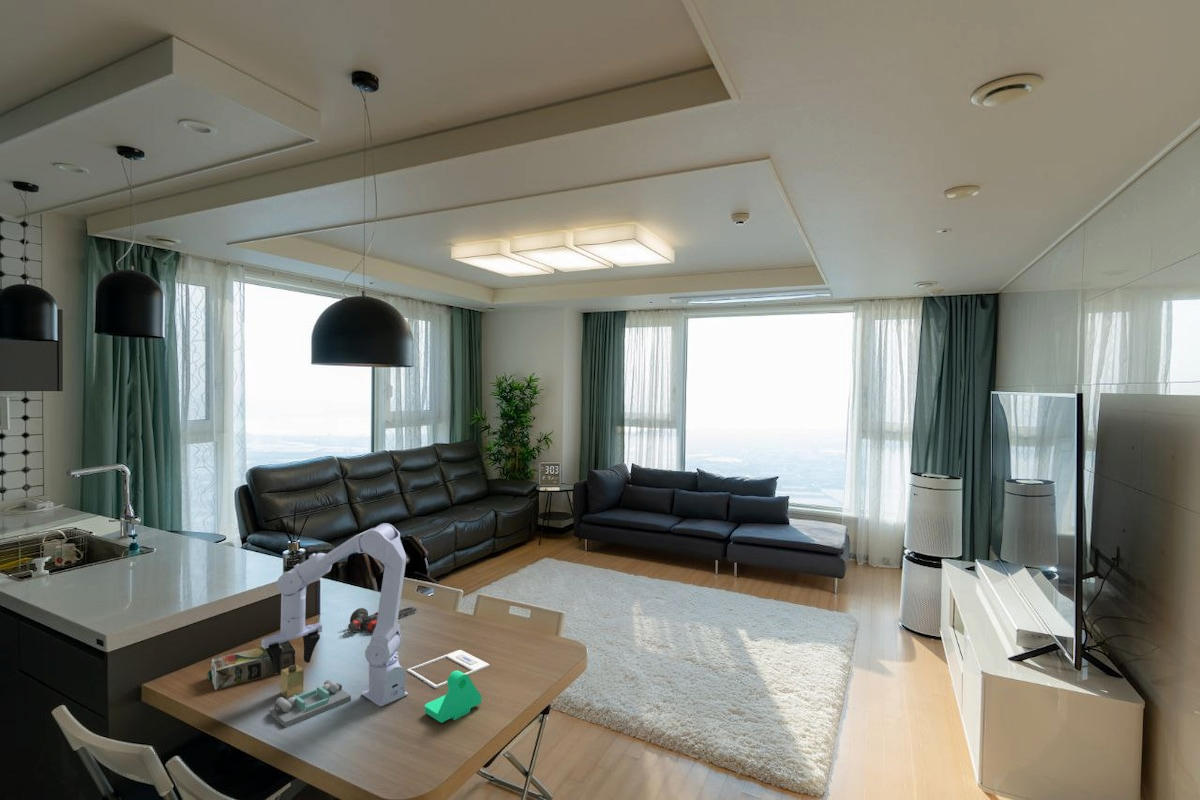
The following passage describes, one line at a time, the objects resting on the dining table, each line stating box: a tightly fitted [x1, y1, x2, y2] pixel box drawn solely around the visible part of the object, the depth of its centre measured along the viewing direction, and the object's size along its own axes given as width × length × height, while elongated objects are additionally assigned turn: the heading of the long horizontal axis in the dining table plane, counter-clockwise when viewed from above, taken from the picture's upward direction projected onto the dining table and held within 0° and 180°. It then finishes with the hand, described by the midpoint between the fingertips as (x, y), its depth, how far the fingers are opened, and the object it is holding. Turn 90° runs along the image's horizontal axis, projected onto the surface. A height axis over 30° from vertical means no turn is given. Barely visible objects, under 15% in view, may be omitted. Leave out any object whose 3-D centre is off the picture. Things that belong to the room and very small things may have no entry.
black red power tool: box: [347, 606, 418, 634], centre depth 196 cm, size 6×26×15 cm
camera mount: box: [424, 670, 483, 724], centre depth 142 cm, size 12×8×10 cm, turn 140°
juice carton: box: [206, 640, 296, 691], centre depth 160 cm, size 20×10×6 cm, turn 130°
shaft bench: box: [268, 679, 352, 728], centre depth 143 cm, size 9×16×4 cm, turn 141°
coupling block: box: [280, 664, 305, 698], centre depth 150 cm, size 4×4×7 cm
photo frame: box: [406, 649, 491, 689], centre depth 165 cm, size 15×1×18 cm
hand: (292, 666), depth 150 cm, fingers open, 7 cm apart
